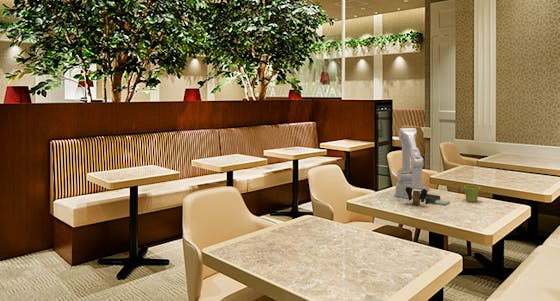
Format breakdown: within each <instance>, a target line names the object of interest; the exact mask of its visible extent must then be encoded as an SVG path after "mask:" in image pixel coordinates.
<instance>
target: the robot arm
mask: <svg viewBox="0 0 560 301" xmlns="http://www.w3.org/2000/svg"><path fill="white" fill-rule="evenodd" d="M417 135H418V131H417V128H416V127H400V128H399V129H398V140H399V142H401V158H402V159H401V168H399V169H398V170H397V176H396V178H397V182H396V184H395V193H394V196H395V197H399V198H405V199H408V201H412V200H413V189H414V190H418V191H420V193H421V199H420V203H425V200H426V199H425V196H426V194H428V193H429V191H430V187H429V186H425V185H423V168H424V167H425V160H424V157H423V156H421V152H420V149H419V148H418V147H417V143H416V138H417Z"/></svg>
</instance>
